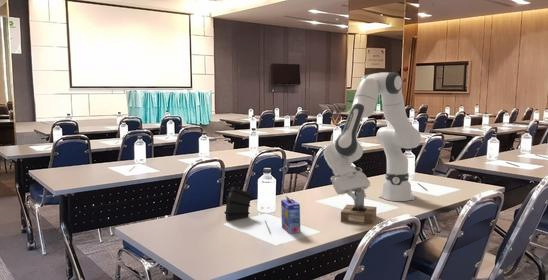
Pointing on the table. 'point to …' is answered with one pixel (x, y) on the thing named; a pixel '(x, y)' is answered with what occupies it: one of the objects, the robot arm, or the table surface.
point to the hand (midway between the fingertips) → (360, 198)
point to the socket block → (358, 215)
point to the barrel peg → (359, 201)
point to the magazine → (237, 204)
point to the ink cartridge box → (290, 215)
